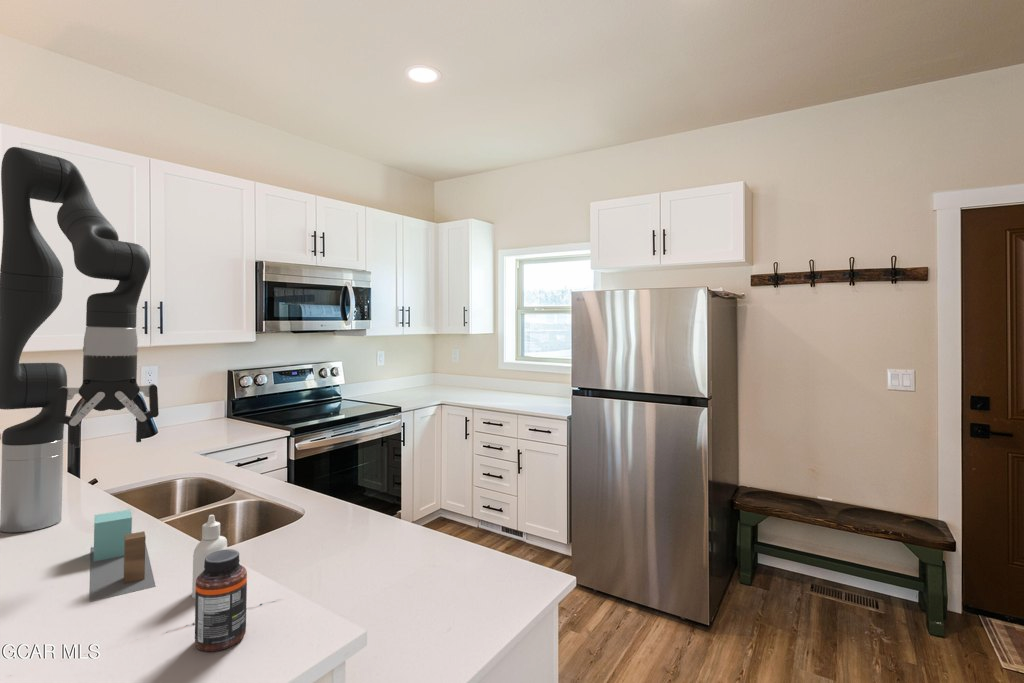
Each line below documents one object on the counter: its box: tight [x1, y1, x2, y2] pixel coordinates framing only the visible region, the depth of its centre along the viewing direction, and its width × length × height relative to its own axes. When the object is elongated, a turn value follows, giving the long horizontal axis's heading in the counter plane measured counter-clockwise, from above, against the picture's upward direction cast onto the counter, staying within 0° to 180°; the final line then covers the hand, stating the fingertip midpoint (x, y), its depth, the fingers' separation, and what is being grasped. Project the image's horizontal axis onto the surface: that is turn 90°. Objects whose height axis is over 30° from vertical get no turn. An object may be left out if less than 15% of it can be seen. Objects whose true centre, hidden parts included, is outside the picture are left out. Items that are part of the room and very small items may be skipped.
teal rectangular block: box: [93, 509, 133, 562], centre depth 92 cm, size 5×5×7 cm
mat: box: [89, 541, 157, 603], centre depth 87 cm, size 24×8×1 cm, turn 39°
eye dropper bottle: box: [191, 514, 228, 599], centre depth 80 cm, size 4×6×12 cm
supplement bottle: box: [194, 548, 248, 652], centre depth 67 cm, size 6×6×11 cm
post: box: [124, 530, 147, 584], centre depth 83 cm, size 3×3×7 cm
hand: (108, 444), depth 91 cm, fingers open, 8 cm apart
